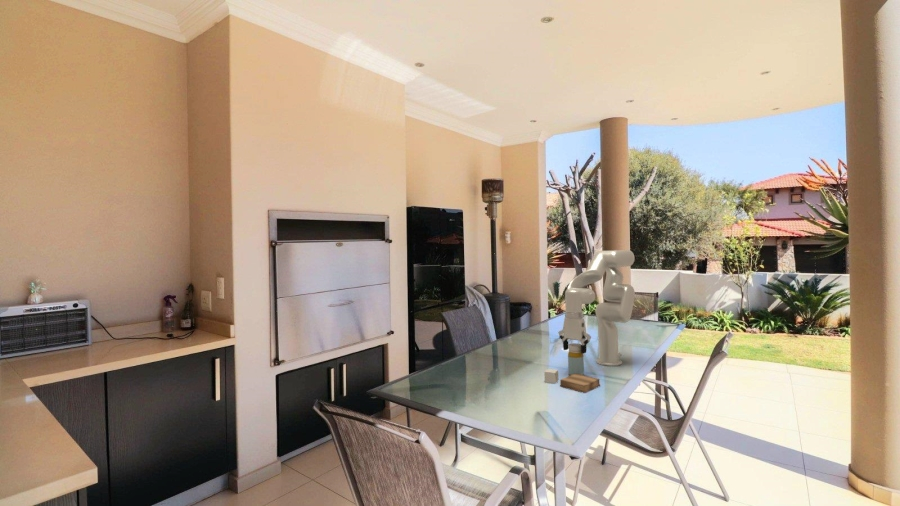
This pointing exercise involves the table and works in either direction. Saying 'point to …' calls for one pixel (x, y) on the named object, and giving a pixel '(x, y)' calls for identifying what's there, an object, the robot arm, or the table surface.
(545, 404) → the table surface
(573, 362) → the bottle
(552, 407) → the table surface
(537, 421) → the table surface
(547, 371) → the stone cube
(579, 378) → the plinth
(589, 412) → the table surface
